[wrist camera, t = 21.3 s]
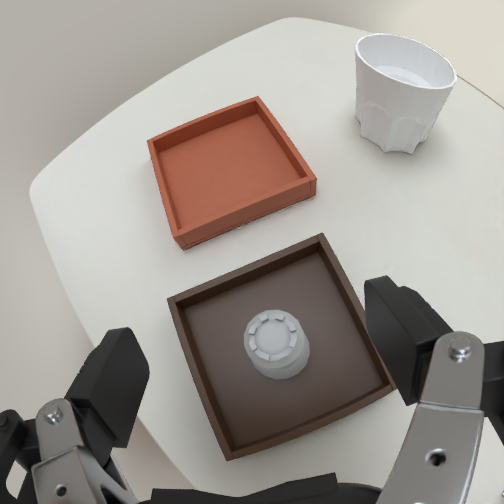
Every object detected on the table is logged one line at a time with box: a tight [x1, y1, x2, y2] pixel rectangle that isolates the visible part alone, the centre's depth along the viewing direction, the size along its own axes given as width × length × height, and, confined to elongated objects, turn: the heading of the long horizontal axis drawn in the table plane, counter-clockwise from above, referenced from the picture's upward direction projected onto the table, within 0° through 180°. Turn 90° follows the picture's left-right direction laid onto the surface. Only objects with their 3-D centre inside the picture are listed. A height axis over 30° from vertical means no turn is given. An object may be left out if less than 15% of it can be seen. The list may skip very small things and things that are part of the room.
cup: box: [355, 34, 457, 155], centre depth 26 cm, size 10×10×10 cm
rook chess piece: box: [244, 310, 310, 380], centre depth 19 cm, size 4×4×8 cm
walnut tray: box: [167, 233, 397, 461], centre depth 22 cm, size 13×13×3 cm
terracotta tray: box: [147, 96, 317, 250], centre depth 30 cm, size 13×13×3 cm
